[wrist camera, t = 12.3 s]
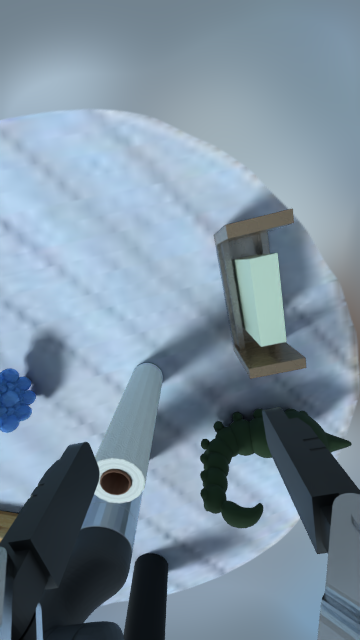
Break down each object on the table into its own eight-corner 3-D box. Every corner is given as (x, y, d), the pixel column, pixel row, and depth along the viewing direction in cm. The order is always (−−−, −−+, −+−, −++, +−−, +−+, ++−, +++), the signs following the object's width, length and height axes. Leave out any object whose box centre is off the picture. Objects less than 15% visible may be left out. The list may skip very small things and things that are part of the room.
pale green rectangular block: (262, 323, 38) (286, 341, 30) (243, 327, 39) (261, 346, 30) (254, 255, 35) (277, 252, 27) (233, 260, 36) (249, 259, 27)
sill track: (276, 342, 40) (306, 367, 31) (234, 351, 41) (250, 378, 31) (262, 223, 35) (292, 208, 25) (213, 235, 36) (225, 224, 26)
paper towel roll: (161, 361, 42) (141, 458, 21) (164, 388, 43) (148, 504, 22) (124, 363, 42) (68, 462, 21) (128, 390, 43) (80, 507, 23)
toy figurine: (206, 441, 48) (325, 428, 45) (209, 551, 30) (410, 545, 26) (197, 406, 46) (322, 389, 42) (194, 503, 28) (412, 488, 24)
